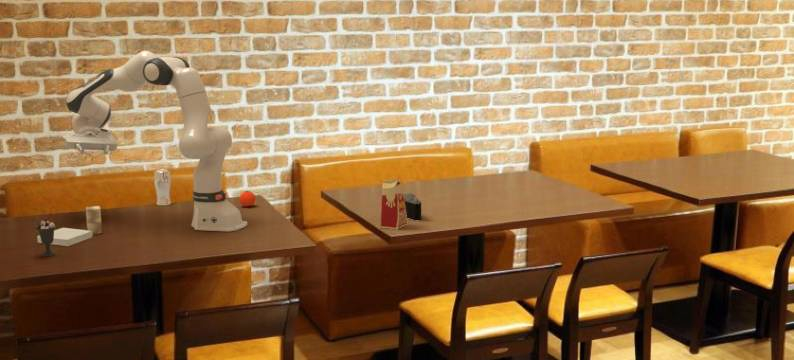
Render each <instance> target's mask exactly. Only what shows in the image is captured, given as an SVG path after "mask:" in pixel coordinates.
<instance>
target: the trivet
mask: <svg viewBox="0 0 794 360" xmlns="http://www.w3.org/2000/svg"><path fill="white" fill-rule="evenodd" d="M93 235H94V234H92V231H88V230H87V229H77V228H68V227H61V228H58V229H54V239H53V242H52V243H51V244H50V245H54V246H61V247H69V246H72V245H76V244H78V243H82V242H83V241H86V240H88V239H92V238H93ZM36 237H37V243H38V244H43V243H42V241H41V238H40V235H37V236H36Z"/></svg>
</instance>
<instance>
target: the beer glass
mask: <svg viewBox="0 0 794 360" xmlns="http://www.w3.org/2000/svg"><path fill="white" fill-rule="evenodd" d="M153 174H154V175H153V179H154V180H153V181H154V182H153V183H154V188H155V192H156V205H157V206H169V205H171V202H172V201H171V198H170V194H171V193H170V192H171V183H172V182H171V172H170V169H167V168H164V169H163V168H162V169H156V170H154V173H153Z"/></svg>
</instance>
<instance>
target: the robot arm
mask: <svg viewBox="0 0 794 360" xmlns="http://www.w3.org/2000/svg"><path fill="white" fill-rule="evenodd" d="M147 83H149V84H152V85H154V86H155V85H156V86H166V87H167V86H172V87H174V89H175V92H176V94H177V98H178V101H179V105H180V108H181V113H182V119H183V131H182V135H181V137H180V139H179V142H178V149H179V152H180V154H181V155H182V156H183V157H185V158H186V159H191V160H193V159H194V160H199V161H198V164H197V166H196V167H195V168H194V170H193V172H192V173H193V191H192V199H193V200H192V201H193V214H192V221H191V224H190V225H191V227H192V228H194V229H193V230H195V231H206V232H207V231H209V232H210V231H211V232H212V231H213V232H233V231H234V232H235V231H239V230H242V229H243V228H246V227H247V226H248V221H245V220H243V217H242V214H241V211H240V209H239V208H238V207H236V206H234V204H232V203H231V202H230V201H229V200H227V196H228V195H229V194H228V193H229V192H224V190H223V180H222V179H223V178H222V175H223V174H222V172H223V167H224V166H223V165H224V162H225V157H226V155H227V152H228V151H229V149H230V148H231V146H232V143H233V137H232V134H231V132H230V131H229V130H228V129H227V128H226V127H220V126H219V127H218V126H213V127H209V125H208V119H209V117H210V115H211V112H212V109H211V105H210V101H209V98H208V94H207V91H206V87H205V85H204V82H203V79H202V78H201V76H200V74H199V72H198V70H197V69H195V68H193V67H190V64H189V62H188V61H187V60H185V59H184V58H182V57H178V56H161V57H157V55H156V54H155V53H153V52H151V51H149V50H142V51H140V52H139V53H137V54H135V55H134V56H132V57H131V58H130V59H129V60H128V61H126V62H125V63H124V64H123V65H120V66H119V67H116V68H110V69H109V68H107V69H105V70H103V71H101V72H100V73H99V74H98V75H95V76H94V77H93V78H91V79H90V80H89V81H88V80H87V82H85V83H84V84H82V85H80V86H78V87H76V88H75V89H72V90H71V91H70V92H69V93H68V94H67V96H66V98H65V105H66V107H67V110H68V111H69V112H72V113H74V114H73V115H72V118H71V119H72V120H71V125H72V130H73V132H74V133H65V134H63V135H62V139H63V140H64V147H65V149H68V150H76V151H77V152H79V154H84V153H85V151H98V152H99V151H101V152H103V154H104V155H109V152H116V151H117V148H118V141H117V140H116V138H115V136H114V135H113V134H112V133H111V132H112V131H111V130H110V129H105V128H102V127H104V126H106V124H107V123H108V121H110V118H111V117H112V116H111V115H112V111H111V110H112V109H111V105H110V103H108V102H106V101H104V100H102V99H101V98H98V97H96V96H94V94H96V93H97V92H99V91H100V90H102V89H106V88H107V89H108V88H109V89H115V90H120V91H123V92H129V93H130V92H131V93H133V92H136V91H138V90H139V89H142V88H143V86H144V85H146V84H147Z"/></svg>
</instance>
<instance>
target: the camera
mask: <svg viewBox="0 0 794 360" xmlns="http://www.w3.org/2000/svg"><path fill="white" fill-rule="evenodd" d="M403 196H404V201H405V207H406V213H407V218H410V219H413V220H421V221H422V201H421V199H418V197H417V196H416V195H415V194H414V193H413V192H406V193H405V194H404V193H403ZM410 219H409V220H410ZM413 220H412V221H413Z"/></svg>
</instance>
